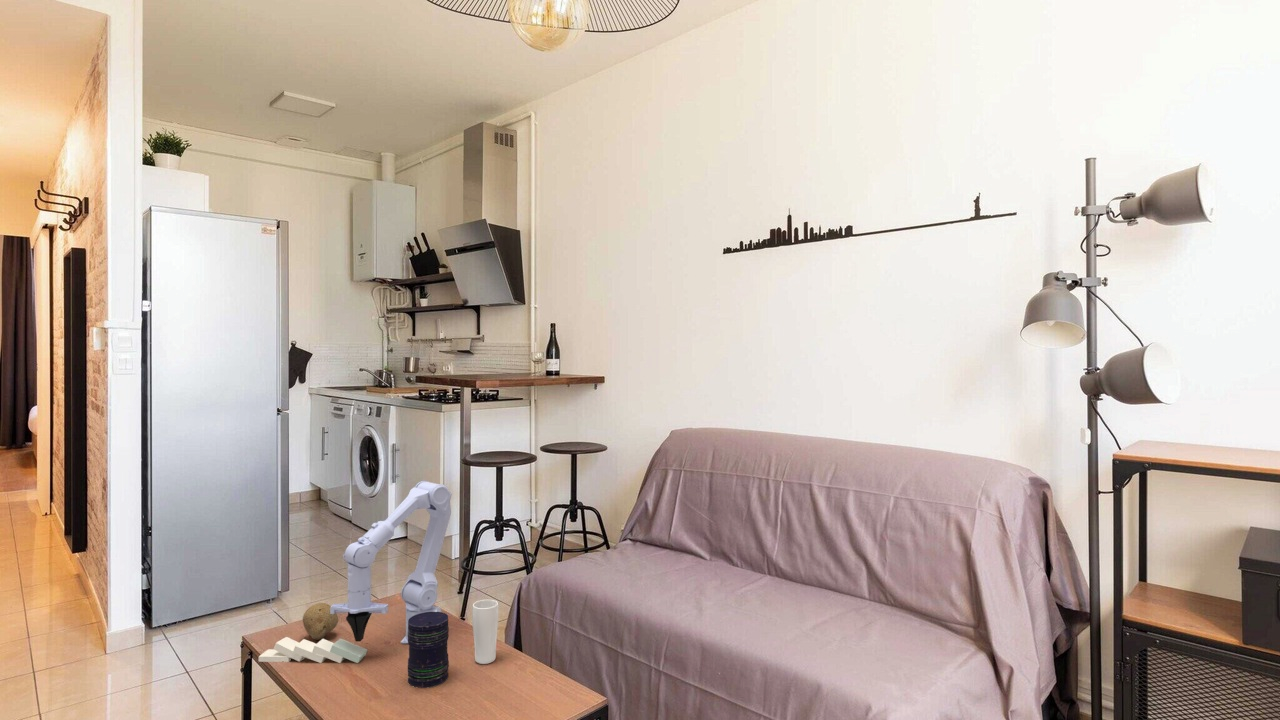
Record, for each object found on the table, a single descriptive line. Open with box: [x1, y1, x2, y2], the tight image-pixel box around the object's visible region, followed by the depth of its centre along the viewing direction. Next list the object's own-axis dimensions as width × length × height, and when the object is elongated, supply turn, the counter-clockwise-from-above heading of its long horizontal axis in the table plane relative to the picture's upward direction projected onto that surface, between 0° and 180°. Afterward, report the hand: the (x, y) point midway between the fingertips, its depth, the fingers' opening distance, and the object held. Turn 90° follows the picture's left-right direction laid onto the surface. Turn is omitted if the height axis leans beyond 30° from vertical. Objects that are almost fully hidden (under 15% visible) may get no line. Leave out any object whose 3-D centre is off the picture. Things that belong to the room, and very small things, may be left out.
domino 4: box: [312, 638, 346, 664], centre depth 179 cm, size 2×4×8 cm
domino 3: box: [293, 638, 327, 664], centre depth 179 cm, size 2×4×8 cm
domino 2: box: [273, 636, 307, 662], centre depth 179 cm, size 2×4×8 cm
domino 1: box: [258, 648, 294, 663], centre depth 179 cm, size 2×4×8 cm
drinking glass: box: [471, 599, 499, 665], centre depth 178 cm, size 7×7×15 cm
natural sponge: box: [302, 602, 339, 641], centre depth 192 cm, size 9×9×10 cm
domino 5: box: [330, 637, 368, 664], centre depth 179 cm, size 2×4×8 cm
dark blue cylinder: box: [407, 611, 450, 689], centre depth 168 cm, size 10×10×15 cm
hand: (359, 640), depth 178 cm, fingers closed
